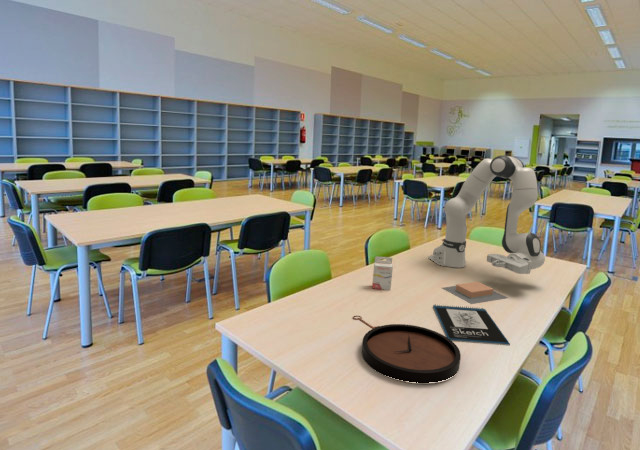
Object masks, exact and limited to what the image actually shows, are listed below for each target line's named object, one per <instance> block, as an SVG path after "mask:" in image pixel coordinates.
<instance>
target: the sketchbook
mask: <svg viewBox="0 0 640 450" xmlns="http://www.w3.org/2000/svg"><path fill="white" fill-rule="evenodd" d="M432 309H433V311H434V313H435V316H436V317H437V319H438V322H439V324H440V327H441V329H442V331H443V334H444V336H445V337H447V338H449V339H450V340H451V341H452V342H460V341H461V342H462V343H474V344H475V343H476V344H487V345H488V344H489V345H499V344H500V345H502V346H510V345H511V343H510V342H509V340H508V339H507V338H506V337H505V335H504V333H503V332H502V331H501V329H500V328H499V326H498V325H497V324H496V322H495V321H494V320H493V318H492V317H491V315H490V314H489V313H488V311H487V310H486V308H483V307H474V306H470V307H469V306H468V307H467V306H459V305H458V306H457V305H441V304H433V305H432Z"/></svg>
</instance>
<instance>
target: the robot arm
mask: <svg viewBox="0 0 640 450" xmlns="http://www.w3.org/2000/svg"><path fill="white" fill-rule="evenodd" d="M496 177H499V178H503V179H509V180H510V181H511V183H512V184H511V185H512V196H511V200H510V202H509V203H508V205H507V208H506V214H505V223H504V231H503V236H502V239H501V245H502V248H503V250H504V251H505V252H506V253H508V255H507V256H505V255H503V254H500V253H488V254H487V256H486V262H488V263H490V264H491V265H492V266H493V267H496V268H503V269H506V270H508V271H510V272H513V273H516V274H517V275H518V274H520V275H524V274H525V275H529V274H530V273H531V272H532V271H531V270H535V269H538V268H541V267H542V266H543V265H544V264H545V262H546V258H545V255H544V253H543V252H542V251H541V248H542V245H541V243H542V242H541V240H540V238H539V236H538V235H537V234H535V233H534V232H524V233H518V230H517V229H518V223H519V217H520V215H521V214H522V213H523V212H525V211H526V210H528V209H530V208H532V207H534V205H535V204H536V202H537V201H538V197H539V195H538V193H539V192H538V181H537V180H538V179H537V176H536V172H535V170H534V169H533V168H532V167H531V168H530V167H527V166H526V167H525V164H524V162H523V161H522V160H521V159H520V158H516V157H514V156H510V155H497V156H495V157H494V158H483V159H482V160H481V161H480V162H479V163H478V164H477V165H476V166H475V167H474V168H473V170H472V171H471V173H469V175H468V176H467V178H466V180H465V181H464V182H463V183H462V185H461V188H460V190H459V192H458V194H457V195H455V197H452V198H450V199H449V200H447V202H446V203H445V204H444V207H443V208H444V209H443V210H444V214H445V222H446V224H445V225H446V228H445V238H442V239H441V241H442V242H441V243H442V244H441V245H438V246H437V247H435V248H434V249H433V251H432V255H429V256H428V257H427V258H428V259H429V260H430V259H431V261H432V262H433V261H434V263H435V264H437V265H438V266H440V265H441V267H449V268H464V267H466V266H467V264H466V263H467V261H466V248H467V247H466V246H467V240H466V239H467V231H468V226H467V220H466V219H467V215H468V214H470V213H471V211H472V210H473V208H474V207H475V206H476V204H477V202H478V200H479V199H480V197H481V196H482V194H483V193H484V192H485V191H486V189H487V188H488V186H489V185H490V183H491V182H492V181H493V180H494V179H495V178H496Z"/></svg>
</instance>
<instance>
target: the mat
mask: <svg viewBox="0 0 640 450" xmlns="http://www.w3.org/2000/svg"><path fill="white" fill-rule="evenodd" d="M441 290H444V291H446V293H450V294H452V296H454V297H455V296H456V297H458V298H459V299H460V300H462V301H465V302H467V303H469V304H470V305H475V304H480V303H487V302H493V301H494V302H495V301H498V300H499V301H500V300H505V299H509V297H507V296H505V295H503V294H501V293H499V292H497V291H495V290H493V295H490V296H484V297H478V298H469V297H467V296H465V295H463V294H461V293H459V292H457V291H456V285H451V286H445V287H441Z"/></svg>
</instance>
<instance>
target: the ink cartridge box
mask: <svg viewBox="0 0 640 450" xmlns="http://www.w3.org/2000/svg"><path fill="white" fill-rule="evenodd" d="M393 269H394V268H393V257H390V256H389V257H388V256H377V255H376V256H375V257H374V262H373V273H372V275H373V276H372V285H371V286H372V289H373V288H374V289H373V290H382V289H384V290H383V291H391V288H392V281H393V280H392V279H393Z"/></svg>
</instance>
